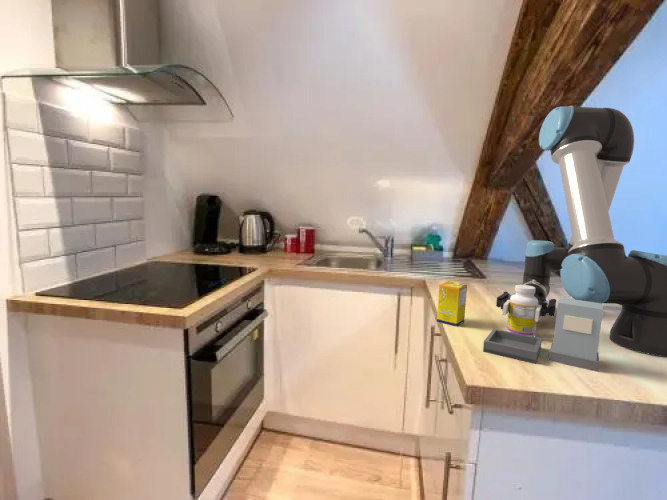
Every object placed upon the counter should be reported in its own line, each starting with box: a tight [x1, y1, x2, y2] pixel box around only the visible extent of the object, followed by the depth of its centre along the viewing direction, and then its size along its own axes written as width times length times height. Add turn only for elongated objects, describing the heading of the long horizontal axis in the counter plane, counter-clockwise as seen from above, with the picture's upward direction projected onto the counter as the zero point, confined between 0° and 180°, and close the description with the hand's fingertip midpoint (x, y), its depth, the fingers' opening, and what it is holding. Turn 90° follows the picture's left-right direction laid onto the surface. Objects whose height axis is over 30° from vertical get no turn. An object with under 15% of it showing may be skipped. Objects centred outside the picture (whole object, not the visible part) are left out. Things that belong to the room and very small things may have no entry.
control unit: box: [548, 296, 604, 372], centre depth 84 cm, size 9×7×13 cm
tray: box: [482, 328, 543, 365], centre depth 90 cm, size 11×11×2 cm
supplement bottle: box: [506, 284, 538, 337], centre depth 100 cm, size 7×7×13 cm
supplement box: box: [436, 281, 468, 327], centre depth 109 cm, size 6×6×11 cm
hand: (520, 312), depth 96 cm, fingers closed on supplement bottle, 7 cm apart
